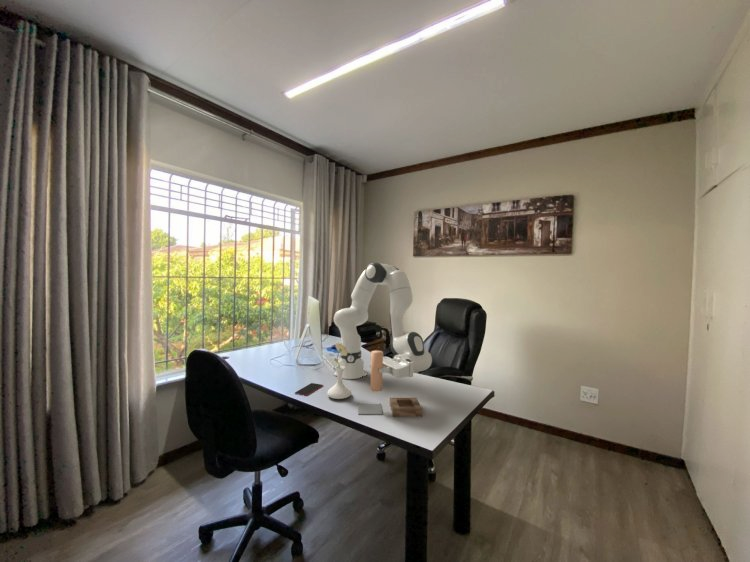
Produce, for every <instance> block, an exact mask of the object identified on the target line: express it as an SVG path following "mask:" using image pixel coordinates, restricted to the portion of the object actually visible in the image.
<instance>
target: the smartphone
mask: <svg viewBox="0 0 750 562" xmlns="http://www.w3.org/2000/svg"><path fill="white" fill-rule="evenodd" d="M322 386H323V387H324V384H319V383H314V382H311V383H309V384H306V385H305V386H304V387H302V388H300V389H299V390H297V391H295V392H294V395H298V394H299V396H303V395H304V396H303V397H309V395H311V394H313V393H314V392H315V393H316V392H317V391H318V390H319V388H320V389H321V388H322Z"/></svg>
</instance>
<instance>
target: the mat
mask: <svg viewBox="0 0 750 562" xmlns="http://www.w3.org/2000/svg"><path fill="white" fill-rule="evenodd" d="M357 404H358V407H357V409H358V410H357V411H358V413H357V414H358V416H361V415H362V416H368V415H369V416H373V415H374V414H381V416H382V415H383V414H384V412H383V408H382V403H357ZM370 414H371V415H370Z"/></svg>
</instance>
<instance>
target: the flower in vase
mask: <svg viewBox="0 0 750 562" xmlns="http://www.w3.org/2000/svg"><path fill="white" fill-rule="evenodd" d="M334 345H335V349H336V351H338V353H337V356H336V357H334V359H333V361H335V362H336V364H337V363H338V361H339V359H338V358H339V355H340V354H342V355H344V356H346V355H347V353H348V352H347V350H346V347H344V346H343V345H342V343H340V342H338V341H337V342H336V343H335V344H334ZM343 362H344V361H343ZM341 363H342V362H341ZM341 363H338V364H337V366H335V367H334V369H335V370H336V371H337V376H336V377H337V380H336V383H335V384H334V385H333V386H331V387H330V388H329V389H328V390H327V393H326V394H327V396H328V397H330V398H331V399H334V400H335V399H336V400H344V399H348V398H349V397H350V396H351V395H352V390H351V388H349V387H348V386H347V385H346V384H344V382H343V378H342V374H343V371H344V369H345V367H344V366H338V365H339V364H341ZM336 371H335V372H336Z"/></svg>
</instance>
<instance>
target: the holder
mask: <svg viewBox="0 0 750 562" xmlns="http://www.w3.org/2000/svg"><path fill="white" fill-rule="evenodd" d="M389 407H391V408H390V411H391V415H392V417H393V418H402V417H404V418H405V417H406V418H408V417H411V418H413V417H414V418H415V417H419V416H420V417H423V408H422V405H421V403H420V401H419V400H418V397H389Z"/></svg>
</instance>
